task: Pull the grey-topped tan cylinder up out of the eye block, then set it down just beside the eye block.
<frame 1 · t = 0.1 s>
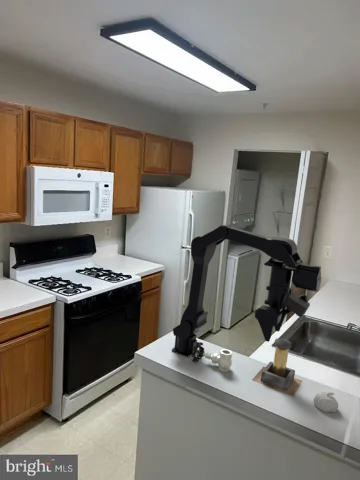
hand: (272, 335, 100), 15 cm above the counter, tool pointing down, fingers open, 9 cm apart
valve: (212, 368, 108), on the counter
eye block: (276, 383, 103), on the counter
grey-topped tan cylinder: (277, 380, 103), point 1 cm above the counter, touching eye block
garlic: (324, 410, 92), on the counter
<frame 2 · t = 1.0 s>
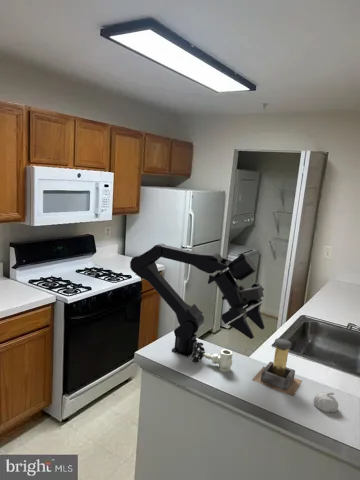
hand: (258, 333, 105), 13 cm above the counter, tool tilted 45°, fingers open, 9 cm apart
nothing on the counter moved.
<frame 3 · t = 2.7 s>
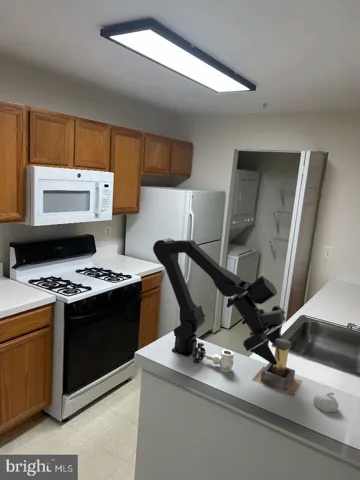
hand: (280, 358, 101), 8 cm above the counter, tool tilted 45°, fingers open, 9 cm apart
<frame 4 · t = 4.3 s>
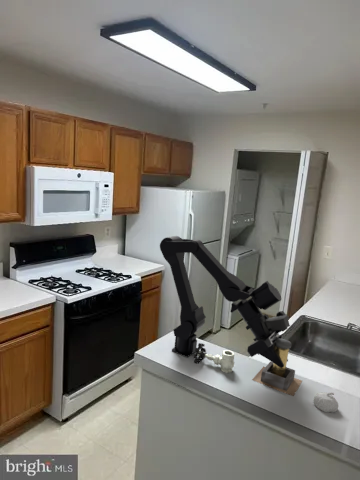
hand: (284, 364, 101), 7 cm above the counter, tool tilted 45°, fingers closed on grey-topped tan cylinder, 4 cm apart
grey-topped tan cylinder: (277, 380, 103), point 1 cm above the counter, touching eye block, gripper
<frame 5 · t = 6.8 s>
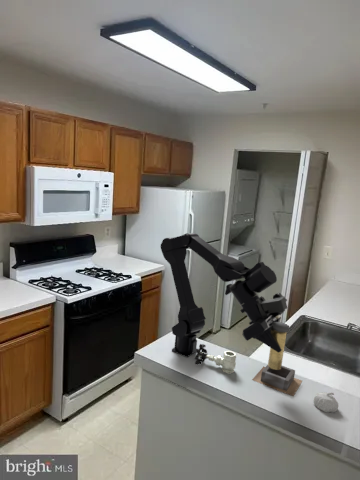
hand: (282, 349, 95), 14 cm above the counter, tool tilted 45°, fingers closed on grey-topped tan cylinder, 4 cm apart
grey-topped tan cylinder: (274, 366, 96), point 8 cm above the counter, touching gripper
when the fingers open (7 cm above the counter, at t = 9.3 s): grey-topped tan cylinder drops 1 cm, on the counter.
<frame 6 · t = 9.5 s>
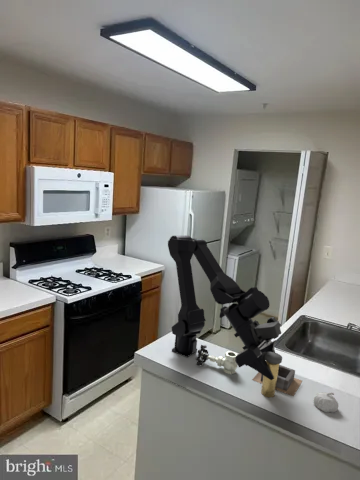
hand: (275, 374, 94), 7 cm above the counter, tool tilted 45°, fingers open, 5 cm apart
grey-topped tan cylinder: (267, 396, 96), on the counter
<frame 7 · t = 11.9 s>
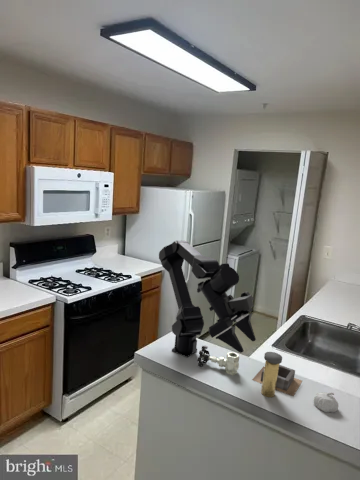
hand: (248, 346, 97), 12 cm above the counter, tool tilted 45°, fingers open, 9 cm apart
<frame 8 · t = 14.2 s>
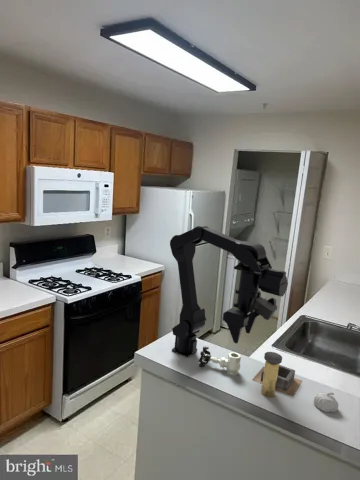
hand: (242, 337, 103), 12 cm above the counter, tool pointing down, fingers open, 9 cm apart
at the end: grey-topped tan cylinder 0.5 cm from the target spot, on the counter; grey-topped tan cylinder tilted 0°; the gripper is holding nothing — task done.
